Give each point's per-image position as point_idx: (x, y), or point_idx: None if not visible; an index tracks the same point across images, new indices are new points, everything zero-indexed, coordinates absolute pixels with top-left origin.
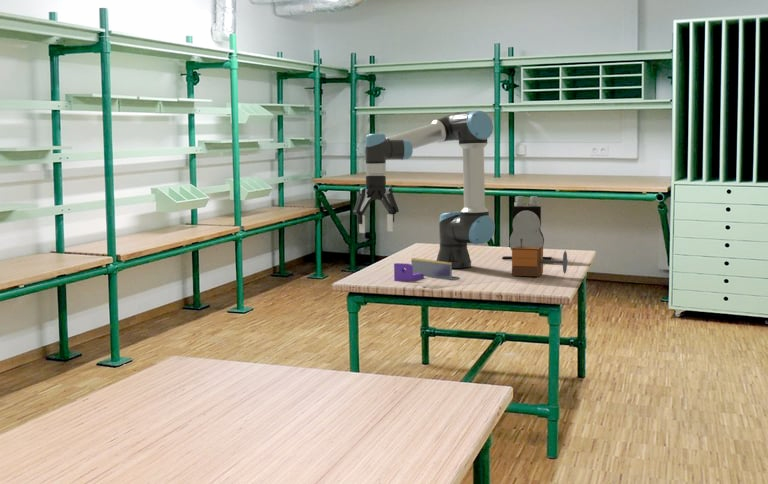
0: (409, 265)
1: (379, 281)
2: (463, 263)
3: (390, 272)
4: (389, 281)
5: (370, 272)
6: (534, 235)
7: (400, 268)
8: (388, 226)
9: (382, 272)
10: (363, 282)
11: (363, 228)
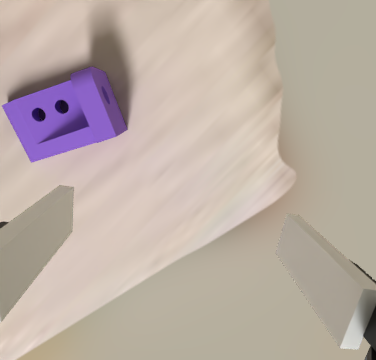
0: (87, 71)
1: (173, 148)
2: None
3: None
4: (152, 125)
5: (52, 311)
6: None
7: (109, 109)
8: (58, 233)
9: None
10: (220, 166)
11: (311, 227)
